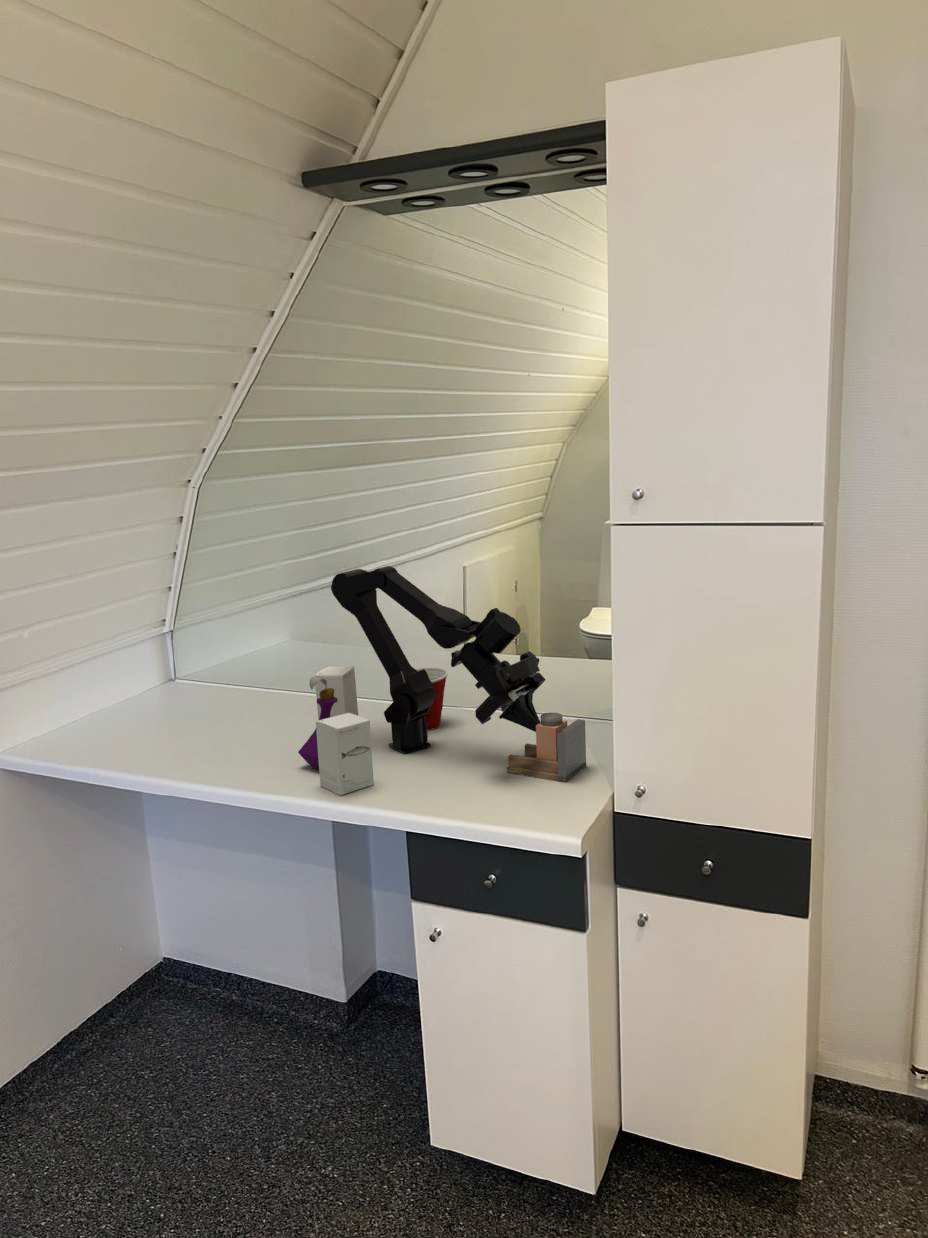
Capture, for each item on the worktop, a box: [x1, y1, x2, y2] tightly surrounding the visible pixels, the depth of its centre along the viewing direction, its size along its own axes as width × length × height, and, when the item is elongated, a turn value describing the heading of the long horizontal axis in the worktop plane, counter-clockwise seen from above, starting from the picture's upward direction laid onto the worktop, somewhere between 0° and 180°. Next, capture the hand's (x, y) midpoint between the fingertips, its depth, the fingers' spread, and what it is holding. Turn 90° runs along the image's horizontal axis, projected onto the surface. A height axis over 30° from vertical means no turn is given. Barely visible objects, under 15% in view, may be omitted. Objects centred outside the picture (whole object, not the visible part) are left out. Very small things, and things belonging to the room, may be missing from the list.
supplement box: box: [315, 713, 375, 796], centre depth 171 cm, size 7×7×13 cm
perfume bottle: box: [297, 676, 338, 770], centre depth 181 cm, size 8×8×18 cm
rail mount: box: [506, 718, 587, 783], centre depth 174 cm, size 12×9×9 cm
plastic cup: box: [415, 666, 449, 731], centre depth 203 cm, size 11×11×12 cm
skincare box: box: [313, 665, 359, 721], centre depth 195 cm, size 8×7×16 cm
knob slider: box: [535, 712, 568, 762], centre depth 173 cm, size 4×5×9 cm
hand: (540, 731), depth 174 cm, fingers closed, pressing on knob slider
